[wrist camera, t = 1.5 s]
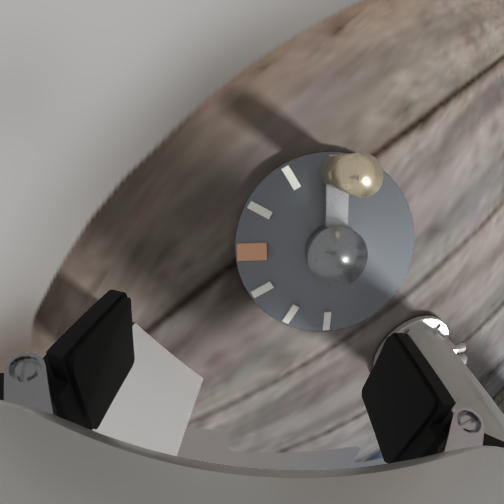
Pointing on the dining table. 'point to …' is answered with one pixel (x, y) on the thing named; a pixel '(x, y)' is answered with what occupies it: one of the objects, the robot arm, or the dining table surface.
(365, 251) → the lever
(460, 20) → the dining table surface
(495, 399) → the thermos
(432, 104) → the dining table surface
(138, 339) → the milk
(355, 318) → the dial board
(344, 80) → the dining table surface
